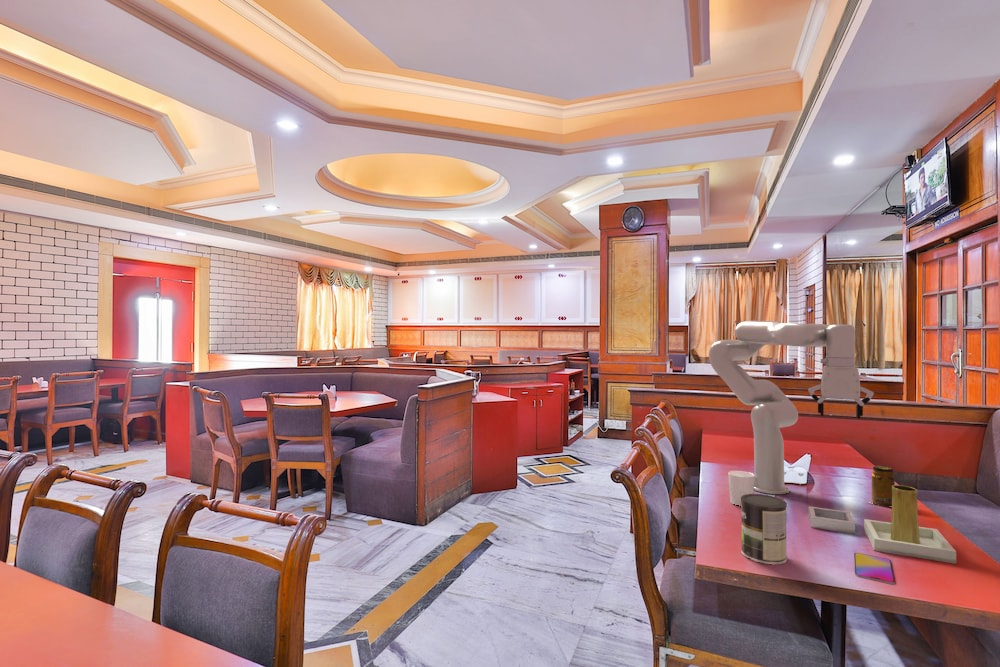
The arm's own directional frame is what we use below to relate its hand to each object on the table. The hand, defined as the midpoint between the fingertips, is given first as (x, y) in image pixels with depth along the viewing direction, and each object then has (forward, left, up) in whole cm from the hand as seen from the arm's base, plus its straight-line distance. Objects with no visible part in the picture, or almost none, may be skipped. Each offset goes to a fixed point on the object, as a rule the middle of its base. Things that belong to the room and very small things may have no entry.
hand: (839, 416), depth 157 cm
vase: (+12, -23, -29) cm, 39 cm away
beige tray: (+12, -24, -30) cm, 40 cm away
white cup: (-28, -8, -30) cm, 42 cm away
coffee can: (-21, -49, -30) cm, 61 cm away
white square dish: (-4, -16, -30) cm, 34 cm away
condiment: (+14, +14, -30) cm, 36 cm away
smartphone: (+2, -44, -31) cm, 53 cm away
